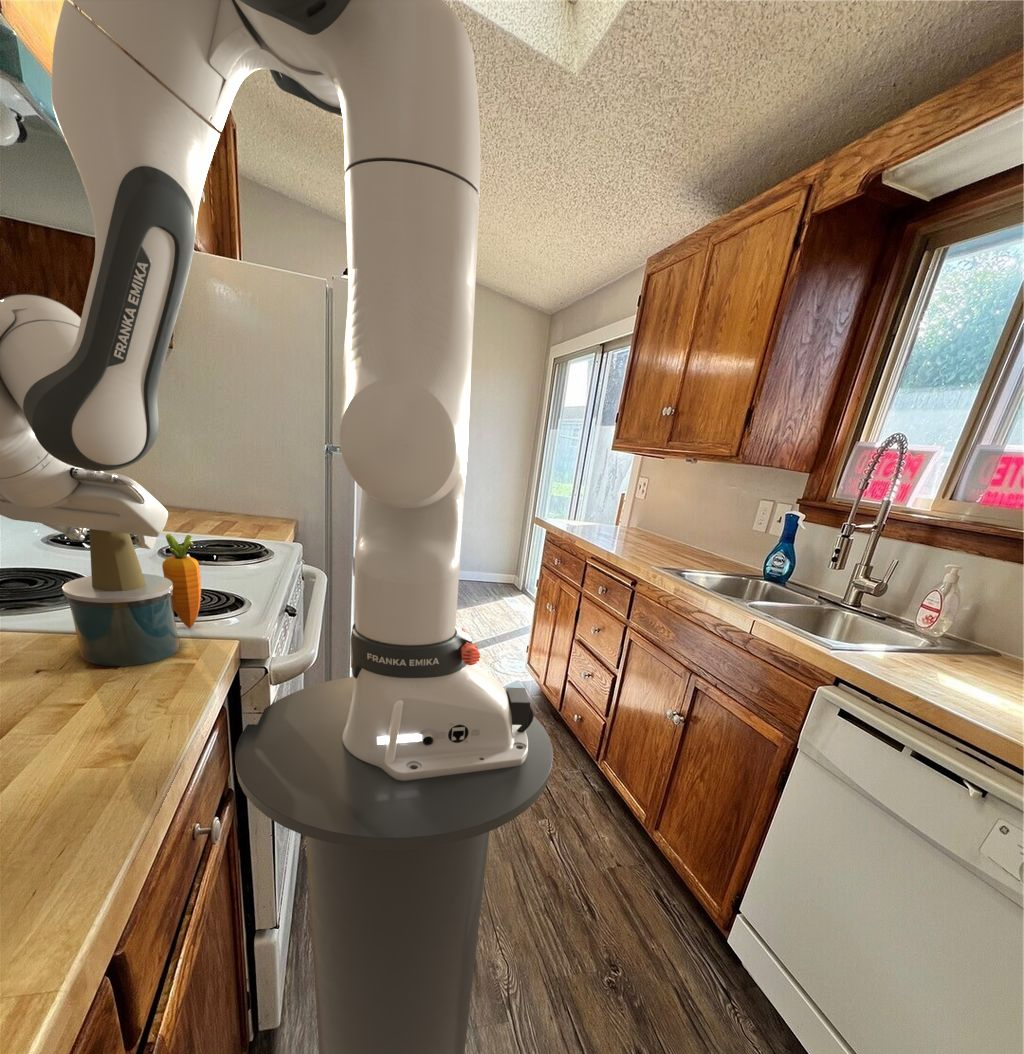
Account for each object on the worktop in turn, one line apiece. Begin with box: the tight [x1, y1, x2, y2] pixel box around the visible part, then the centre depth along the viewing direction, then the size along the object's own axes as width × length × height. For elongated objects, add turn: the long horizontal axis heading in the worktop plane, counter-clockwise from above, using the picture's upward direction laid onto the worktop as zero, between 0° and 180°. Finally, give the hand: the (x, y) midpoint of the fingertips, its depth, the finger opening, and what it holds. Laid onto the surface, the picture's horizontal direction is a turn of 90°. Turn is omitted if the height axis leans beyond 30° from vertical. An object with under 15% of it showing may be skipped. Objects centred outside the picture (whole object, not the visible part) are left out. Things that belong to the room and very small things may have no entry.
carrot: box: [161, 533, 202, 629], centre depth 86 cm, size 5×5×15 cm
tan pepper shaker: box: [88, 529, 146, 591], centre depth 73 cm, size 6×6×11 cm
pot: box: [61, 573, 180, 667], centre depth 77 cm, size 12×12×10 cm
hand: (114, 540), depth 73 cm, fingers open, 8 cm apart
